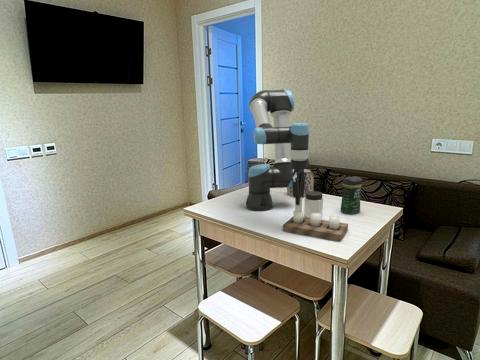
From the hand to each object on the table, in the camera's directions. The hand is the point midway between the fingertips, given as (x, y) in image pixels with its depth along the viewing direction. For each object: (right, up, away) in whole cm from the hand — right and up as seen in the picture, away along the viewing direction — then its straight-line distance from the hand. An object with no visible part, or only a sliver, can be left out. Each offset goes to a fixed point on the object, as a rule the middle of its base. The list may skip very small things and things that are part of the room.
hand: (298, 211), depth 142 cm
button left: (0, -5, +1) cm, 5 cm away
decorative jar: (+11, +4, +54) cm, 56 cm away
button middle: (+7, -6, -3) cm, 10 cm away
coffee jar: (+31, -3, +22) cm, 38 cm away
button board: (+7, -8, -2) cm, 11 cm away
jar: (+10, -4, +16) cm, 20 cm away
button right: (+14, -7, -6) cm, 17 cm away
